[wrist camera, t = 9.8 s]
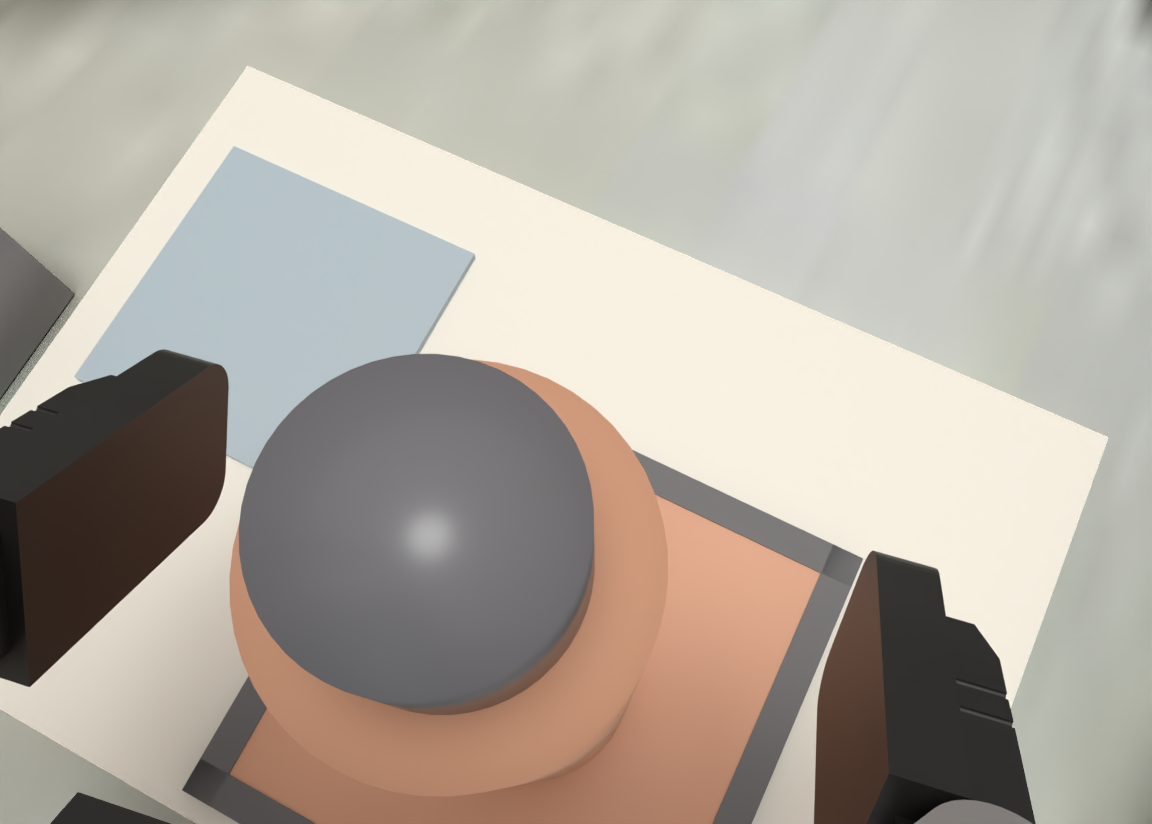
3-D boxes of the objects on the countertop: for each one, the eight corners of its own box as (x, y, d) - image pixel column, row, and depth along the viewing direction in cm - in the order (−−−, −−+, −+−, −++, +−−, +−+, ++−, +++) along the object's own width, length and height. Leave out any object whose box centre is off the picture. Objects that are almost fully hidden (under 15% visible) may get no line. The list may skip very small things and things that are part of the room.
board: (-120, 628, 21) (-156, 621, 20) (258, 87, 24) (244, 59, 23) (824, 1176, 17) (837, 1202, 16) (1090, 449, 21) (1114, 433, 20)
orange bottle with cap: (395, 721, 19) (42, 639, 7) (491, 544, 20) (327, 203, 8) (574, 819, 18) (527, 914, 6) (663, 631, 19) (768, 404, 7)
